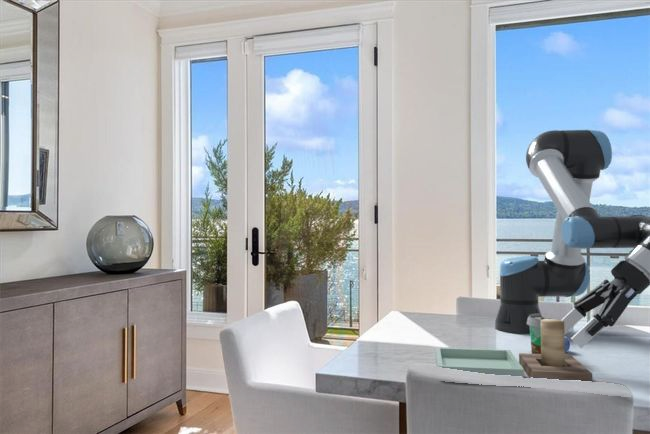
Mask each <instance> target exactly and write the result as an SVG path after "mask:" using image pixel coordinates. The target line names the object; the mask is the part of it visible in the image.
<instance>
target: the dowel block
mask: <svg viewBox="0 0 650 434" xmlns="http://www.w3.org/2000/svg"><path fill="white" fill-rule="evenodd" d="M518 362H519V363H520V365H521V366H522V367H523V369H524V373H525V374H526V375H527V377H528V378H529V377H533V378H547V379H559V380H581V381H593V373H592V372H591V370H589V369H588V368H587V367H585V366H584V365H583V364H582V363H581V362H580V361H579V360H577V358H575V357H574V356H573V355H571V354H565V367H560V366H541V354H532V353H521V352H520V353H518ZM593 382H594V381H593Z"/></svg>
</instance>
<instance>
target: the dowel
mask: <svg viewBox="0 0 650 434" xmlns="http://www.w3.org/2000/svg"><path fill="white" fill-rule="evenodd" d="M565 336H566V334H565V335H564V321H562V319H553V318H547V319H543V320H541V366H560V367H565V355H566V353H565Z"/></svg>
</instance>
